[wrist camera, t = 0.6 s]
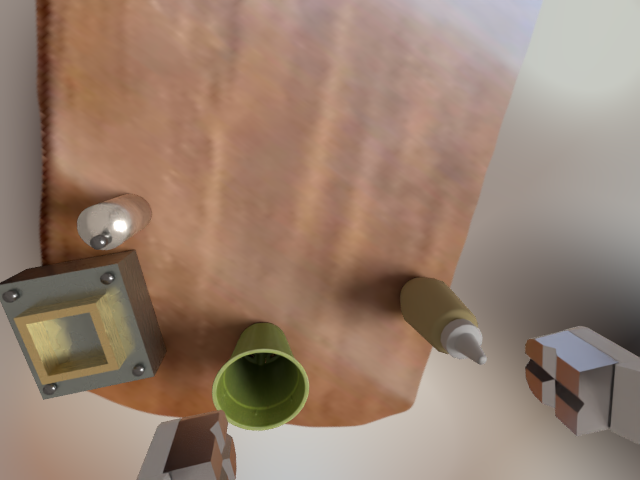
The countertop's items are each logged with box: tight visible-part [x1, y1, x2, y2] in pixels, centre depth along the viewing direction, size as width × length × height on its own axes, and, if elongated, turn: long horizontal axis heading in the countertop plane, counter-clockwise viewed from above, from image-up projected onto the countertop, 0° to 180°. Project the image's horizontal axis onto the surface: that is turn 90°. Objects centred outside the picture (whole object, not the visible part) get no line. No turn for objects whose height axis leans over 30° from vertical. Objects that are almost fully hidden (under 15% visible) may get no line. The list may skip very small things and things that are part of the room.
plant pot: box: [212, 323, 309, 430], centre depth 50 cm, size 12×12×11 cm
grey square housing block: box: [0, 250, 166, 400], centre depth 47 cm, size 16×14×8 cm
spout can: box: [77, 194, 152, 250], centre depth 43 cm, size 5×5×11 cm
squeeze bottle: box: [400, 277, 487, 364], centre depth 48 cm, size 8×8×18 cm
